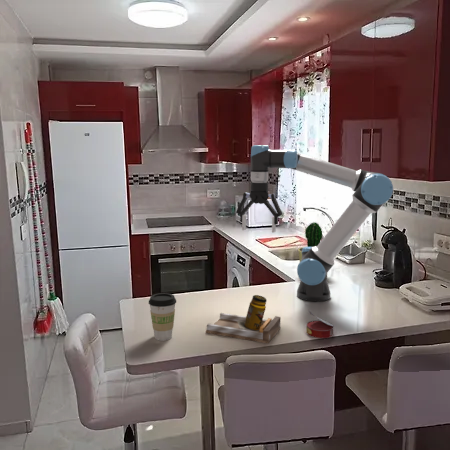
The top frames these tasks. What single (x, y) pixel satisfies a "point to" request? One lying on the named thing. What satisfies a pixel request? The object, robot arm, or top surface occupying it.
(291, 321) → the top surface
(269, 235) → the top surface
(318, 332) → the canned food
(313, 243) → the potted cactus
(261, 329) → the latch
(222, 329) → the rail board
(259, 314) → the condiment
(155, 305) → the coffee cup
